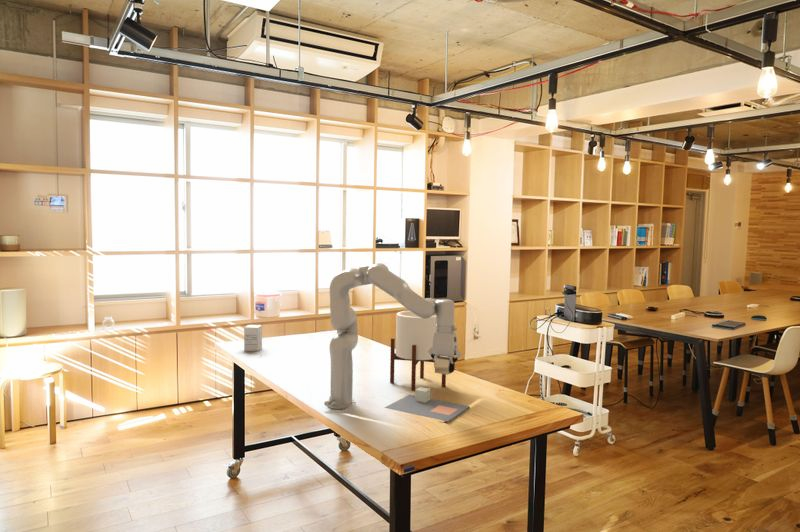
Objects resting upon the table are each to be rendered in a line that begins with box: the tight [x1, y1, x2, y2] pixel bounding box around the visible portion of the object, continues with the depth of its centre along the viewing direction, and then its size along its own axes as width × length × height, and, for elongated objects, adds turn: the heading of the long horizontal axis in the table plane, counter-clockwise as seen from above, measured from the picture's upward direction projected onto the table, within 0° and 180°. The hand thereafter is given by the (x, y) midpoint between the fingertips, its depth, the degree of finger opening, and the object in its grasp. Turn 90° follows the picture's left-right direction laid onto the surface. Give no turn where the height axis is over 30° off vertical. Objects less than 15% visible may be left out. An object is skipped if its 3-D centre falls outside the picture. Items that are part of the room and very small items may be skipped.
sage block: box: [414, 386, 431, 403], centre depth 244 cm, size 5×5×5 cm
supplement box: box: [243, 324, 263, 352], centre depth 342 cm, size 9×9×15 cm
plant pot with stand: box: [389, 310, 447, 392], centre depth 270 cm, size 22×22×36 cm
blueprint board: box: [384, 394, 471, 424], centre depth 235 cm, size 22×30×1 cm
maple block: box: [434, 356, 451, 376], centre depth 230 cm, size 6×6×6 cm
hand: (444, 370), depth 230 cm, fingers closed on maple block, 6 cm apart
